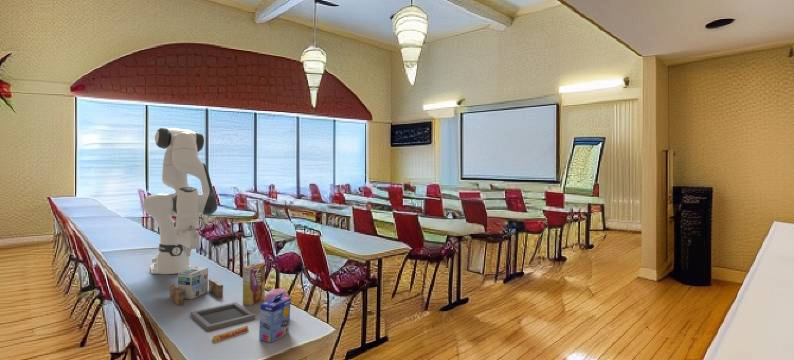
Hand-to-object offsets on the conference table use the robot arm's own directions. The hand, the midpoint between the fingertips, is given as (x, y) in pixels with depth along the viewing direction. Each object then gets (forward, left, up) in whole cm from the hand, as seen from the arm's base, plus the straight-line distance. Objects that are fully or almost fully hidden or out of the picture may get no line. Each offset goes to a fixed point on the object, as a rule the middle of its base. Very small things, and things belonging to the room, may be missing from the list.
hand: (187, 256), depth 179 cm
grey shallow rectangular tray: (+40, 0, -15) cm, 43 cm away
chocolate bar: (+57, -4, -16) cm, 59 cm away
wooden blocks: (+12, 0, -15) cm, 19 cm away
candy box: (+31, +16, -15) cm, 38 cm away
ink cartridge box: (+66, +7, -15) cm, 68 cm away
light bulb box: (+8, 0, -15) cm, 17 cm away
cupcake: (+50, +16, -15) cm, 55 cm away
